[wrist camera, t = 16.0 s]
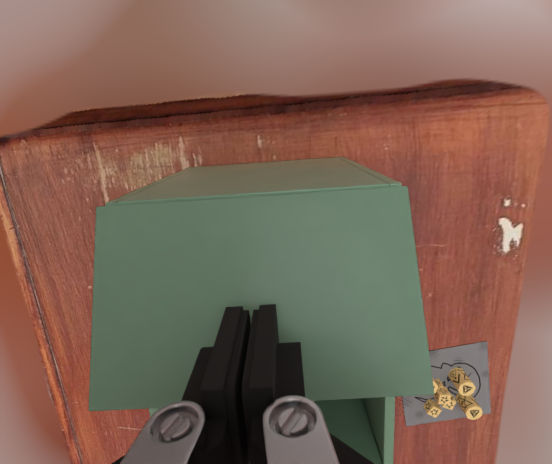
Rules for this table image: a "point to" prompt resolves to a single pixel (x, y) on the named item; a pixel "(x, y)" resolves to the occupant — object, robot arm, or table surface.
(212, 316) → the flap
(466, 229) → the table surface
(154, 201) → the carton
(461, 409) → the dice set
